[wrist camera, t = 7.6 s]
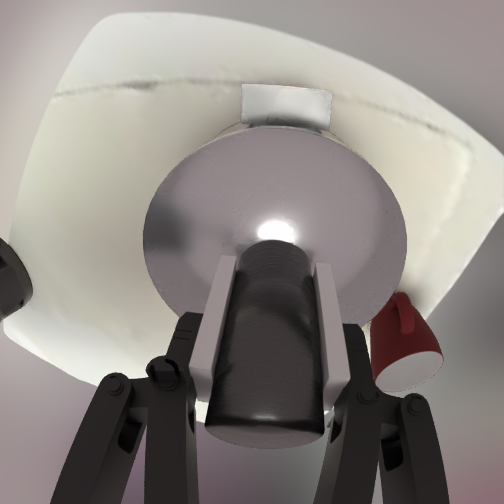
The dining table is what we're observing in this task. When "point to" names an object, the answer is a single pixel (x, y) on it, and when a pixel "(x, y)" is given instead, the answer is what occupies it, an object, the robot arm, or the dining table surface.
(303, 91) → the pot
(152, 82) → the dining table surface
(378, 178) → the lid
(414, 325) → the mug
